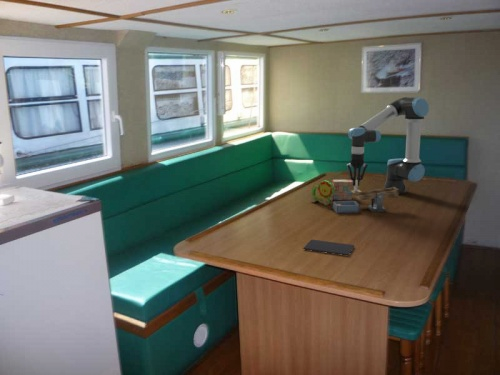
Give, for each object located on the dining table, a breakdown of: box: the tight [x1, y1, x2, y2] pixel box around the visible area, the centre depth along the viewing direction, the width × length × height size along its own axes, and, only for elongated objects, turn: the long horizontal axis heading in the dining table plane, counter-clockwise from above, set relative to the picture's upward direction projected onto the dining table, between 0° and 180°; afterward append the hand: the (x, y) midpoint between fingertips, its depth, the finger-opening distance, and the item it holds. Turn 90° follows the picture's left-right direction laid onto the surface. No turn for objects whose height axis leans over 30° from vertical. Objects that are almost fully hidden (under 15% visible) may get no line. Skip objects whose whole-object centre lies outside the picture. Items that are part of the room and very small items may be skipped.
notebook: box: [302, 239, 355, 256], centre depth 213 cm, size 13×2×21 cm
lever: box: [351, 187, 400, 201], centre depth 278 cm, size 24×17×5 cm
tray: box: [332, 200, 361, 214], centre depth 273 cm, size 14×10×4 cm
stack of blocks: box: [318, 179, 354, 201], centre depth 300 cm, size 21×6×12 cm, turn 86°
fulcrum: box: [367, 189, 387, 213], centre depth 274 cm, size 8×11×11 cm
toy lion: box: [310, 179, 334, 206], centre depth 289 cm, size 16×5×15 cm, turn 47°
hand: (355, 190), depth 283 cm, fingers closed
